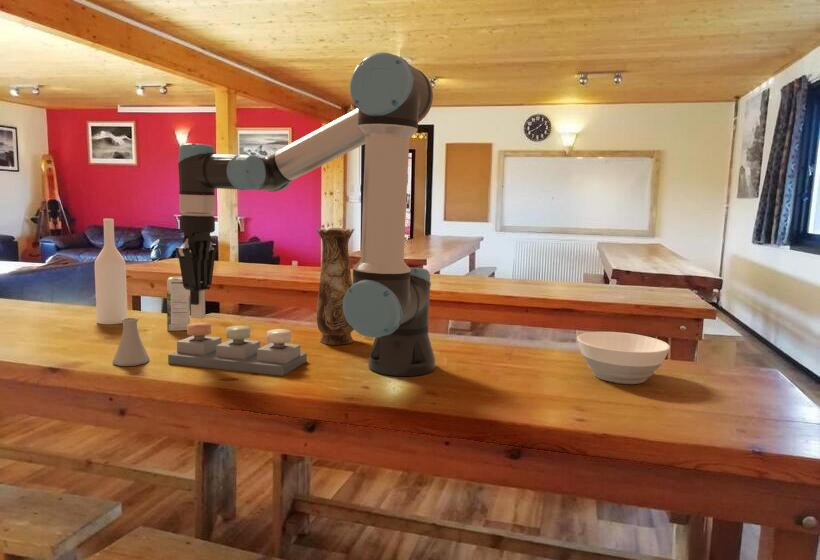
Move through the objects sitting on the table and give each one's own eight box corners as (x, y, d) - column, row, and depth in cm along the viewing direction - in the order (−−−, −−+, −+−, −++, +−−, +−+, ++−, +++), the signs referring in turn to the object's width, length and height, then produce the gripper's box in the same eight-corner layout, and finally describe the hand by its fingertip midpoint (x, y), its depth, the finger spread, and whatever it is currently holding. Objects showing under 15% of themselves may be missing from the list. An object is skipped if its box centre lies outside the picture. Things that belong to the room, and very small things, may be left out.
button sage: (254, 344, 136) (254, 326, 135) (243, 349, 131) (242, 331, 130) (234, 342, 137) (234, 324, 137) (222, 347, 132) (221, 329, 132)
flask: (135, 368, 128) (133, 323, 126) (105, 365, 129) (103, 320, 128) (155, 359, 135) (154, 316, 133) (127, 357, 136) (126, 314, 135)
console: (306, 361, 137) (306, 342, 136) (283, 375, 125) (283, 355, 125) (199, 350, 144) (199, 332, 143) (168, 363, 132) (167, 343, 131)
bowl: (672, 374, 135) (675, 339, 134) (659, 397, 119) (663, 357, 118) (586, 360, 145) (588, 327, 144) (564, 380, 129) (566, 343, 127)
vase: (339, 348, 150) (340, 229, 146) (307, 341, 156) (307, 227, 152) (363, 340, 159) (365, 228, 155) (332, 334, 165) (333, 226, 161)
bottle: (123, 318, 178) (120, 218, 174) (131, 322, 172) (127, 219, 168) (93, 320, 173) (89, 218, 169) (100, 325, 167) (96, 219, 163)
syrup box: (168, 327, 168) (167, 276, 166) (191, 326, 170) (190, 276, 168) (167, 331, 163) (165, 279, 161) (190, 330, 165) (188, 279, 163)
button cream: (294, 348, 134) (294, 330, 133) (284, 354, 128) (284, 335, 128) (273, 346, 135) (273, 328, 134) (262, 351, 130) (262, 333, 129)
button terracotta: (215, 340, 138) (215, 323, 138) (203, 346, 133) (202, 327, 133) (196, 339, 139) (195, 321, 139) (182, 344, 134) (182, 325, 134)
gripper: (199, 213, 140) (200, 311, 143) (163, 214, 127) (165, 321, 130) (227, 214, 138) (228, 314, 141) (194, 215, 125) (195, 324, 129)
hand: (198, 317), depth 136 cm, fingers closed
